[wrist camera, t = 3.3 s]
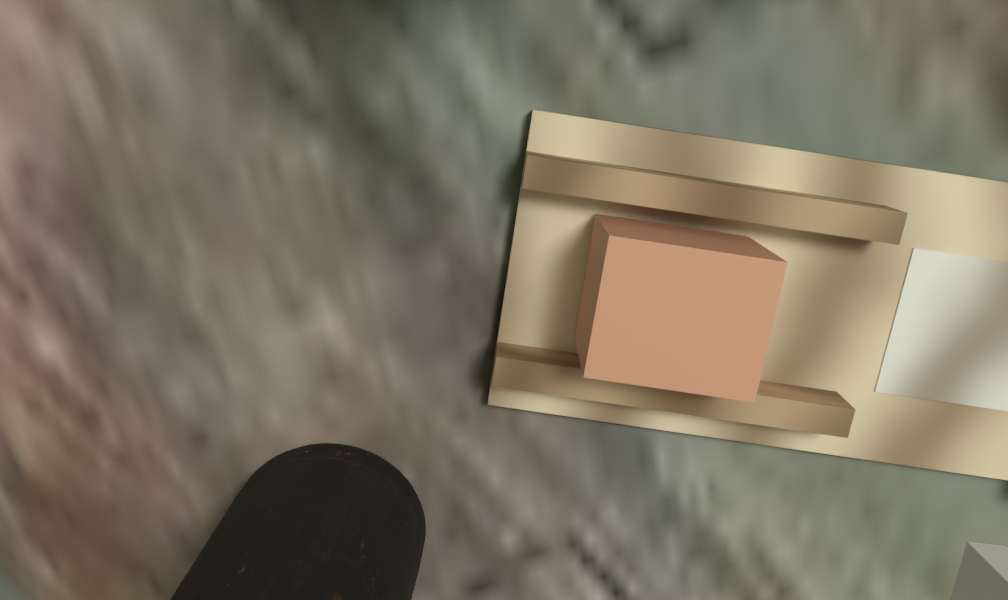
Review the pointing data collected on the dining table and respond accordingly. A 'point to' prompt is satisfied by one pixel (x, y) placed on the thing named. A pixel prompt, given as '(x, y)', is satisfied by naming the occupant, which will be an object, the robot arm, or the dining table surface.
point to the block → (677, 308)
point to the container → (315, 532)
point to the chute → (803, 299)
